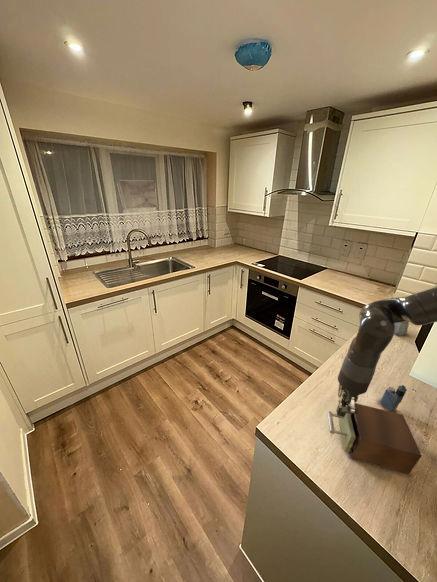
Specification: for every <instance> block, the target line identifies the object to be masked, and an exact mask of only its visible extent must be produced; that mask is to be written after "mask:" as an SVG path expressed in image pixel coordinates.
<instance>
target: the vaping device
mask: <svg viewBox="0 0 437 582" xmlns="http://www.w3.org/2000/svg"><path fill="white" fill-rule="evenodd" d="M406 393H407V387H406V386H405V385H404V384H402V385H398V386H397V388H396V389H395V388H394V387H393V386H388V387H387V388H385V390H384V392H383V395H382V397H381V399H380V401H379V402H380V405H381V406H382V407H383V408H384V409H385V410H386V411H390V412H394V413H396V410H397V409H398V407H399V406H400V405H399V404H400V403H402V401H403V399H404V397H405V395H406Z"/></svg>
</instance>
